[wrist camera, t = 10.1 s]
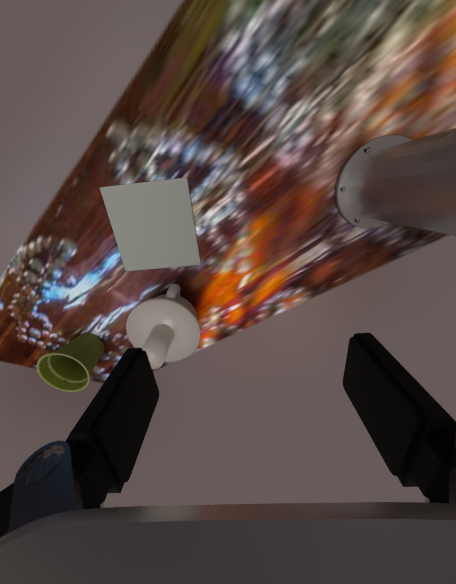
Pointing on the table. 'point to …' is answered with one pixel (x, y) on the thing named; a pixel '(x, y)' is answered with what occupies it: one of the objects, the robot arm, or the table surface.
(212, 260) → the table surface
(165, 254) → the mat
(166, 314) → the lid
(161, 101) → the table surface
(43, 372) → the plant pot
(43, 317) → the table surface
